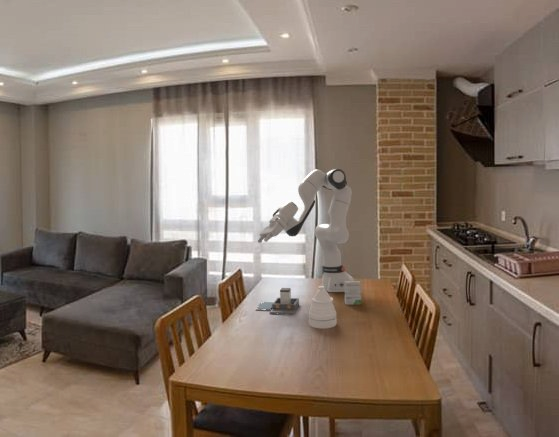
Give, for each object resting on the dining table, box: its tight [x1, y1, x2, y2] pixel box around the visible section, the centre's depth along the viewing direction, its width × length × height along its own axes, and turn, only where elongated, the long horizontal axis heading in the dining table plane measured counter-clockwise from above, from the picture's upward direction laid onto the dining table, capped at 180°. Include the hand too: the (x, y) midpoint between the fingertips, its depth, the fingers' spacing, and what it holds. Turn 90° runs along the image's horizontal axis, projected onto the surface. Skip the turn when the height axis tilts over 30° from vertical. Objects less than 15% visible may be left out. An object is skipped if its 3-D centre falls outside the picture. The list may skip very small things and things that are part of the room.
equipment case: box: [269, 297, 300, 316], centre depth 219 cm, size 12×17×4 cm
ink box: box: [344, 280, 362, 306], centre depth 225 cm, size 9×5×12 cm, turn 84°
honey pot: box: [308, 285, 338, 329], centre depth 195 cm, size 13×13×18 cm
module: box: [279, 287, 292, 304], centre depth 221 cm, size 5×5×10 cm
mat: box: [256, 301, 274, 311], centre depth 224 cm, size 8×12×1 cm, turn 167°
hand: (261, 241), depth 233 cm, fingers open, 8 cm apart
